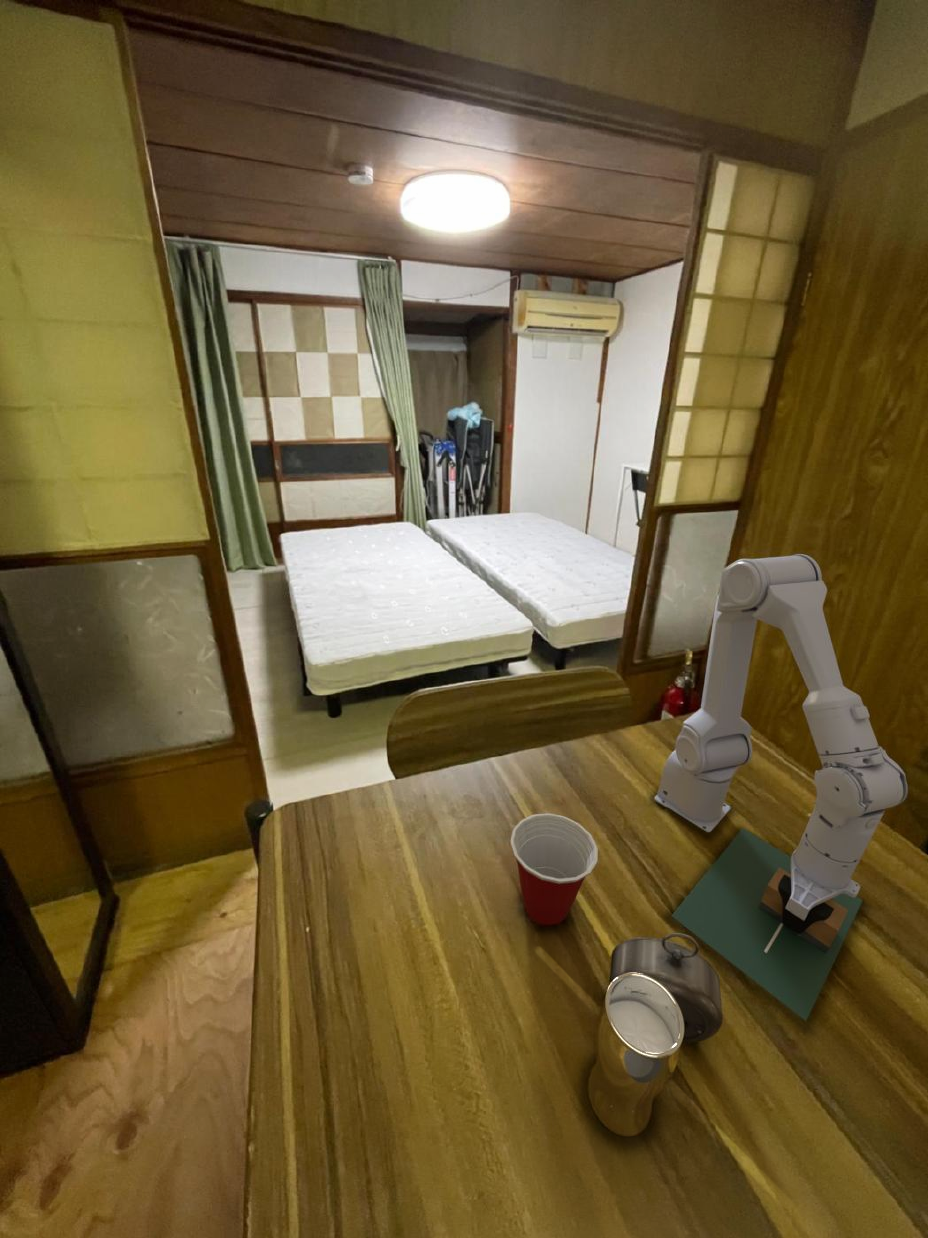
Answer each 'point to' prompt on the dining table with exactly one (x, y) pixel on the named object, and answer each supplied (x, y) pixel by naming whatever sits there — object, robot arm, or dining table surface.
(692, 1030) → the alarm clock
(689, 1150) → the dining table surface
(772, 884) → the eraser
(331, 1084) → the dining table surface
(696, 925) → the chalkboard
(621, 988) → the beer glass
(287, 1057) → the dining table surface
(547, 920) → the plastic cup
